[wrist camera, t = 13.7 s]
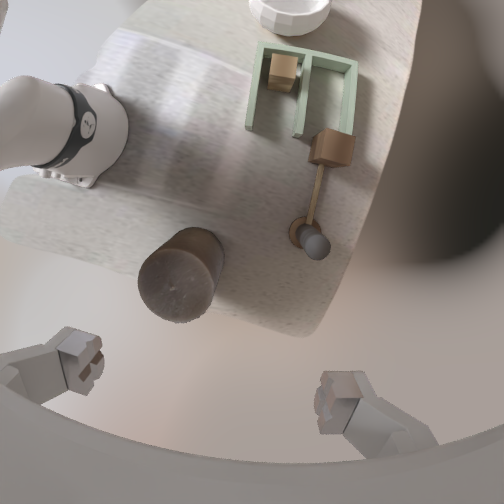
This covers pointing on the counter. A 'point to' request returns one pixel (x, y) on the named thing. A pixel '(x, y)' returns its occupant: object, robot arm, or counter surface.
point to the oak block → (282, 72)
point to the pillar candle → (182, 275)
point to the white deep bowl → (290, 15)
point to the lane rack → (307, 82)
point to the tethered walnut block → (325, 154)
